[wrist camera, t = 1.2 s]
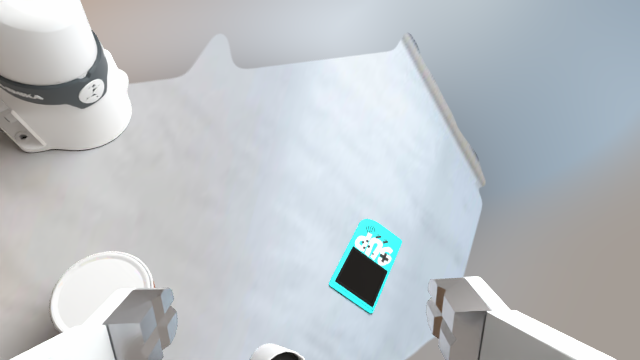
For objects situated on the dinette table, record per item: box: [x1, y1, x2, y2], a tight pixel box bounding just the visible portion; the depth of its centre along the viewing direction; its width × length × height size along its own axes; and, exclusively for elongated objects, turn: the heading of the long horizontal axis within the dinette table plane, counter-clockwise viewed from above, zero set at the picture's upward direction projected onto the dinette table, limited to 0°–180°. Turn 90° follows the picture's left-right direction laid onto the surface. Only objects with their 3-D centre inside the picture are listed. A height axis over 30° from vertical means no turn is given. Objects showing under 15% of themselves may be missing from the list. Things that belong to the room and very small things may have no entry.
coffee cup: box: [49, 251, 155, 334], centre depth 37 cm, size 9×9×12 cm
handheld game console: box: [329, 219, 402, 313], centre depth 58 cm, size 10×16×1 cm, turn 150°
